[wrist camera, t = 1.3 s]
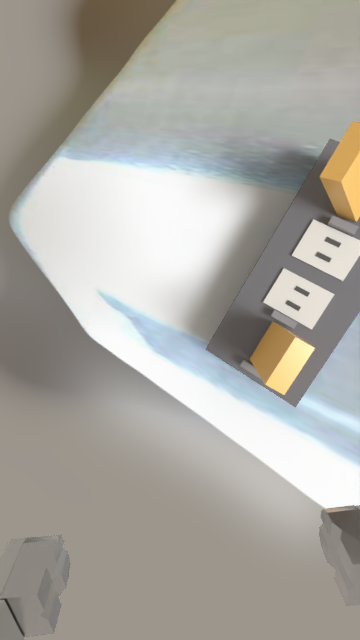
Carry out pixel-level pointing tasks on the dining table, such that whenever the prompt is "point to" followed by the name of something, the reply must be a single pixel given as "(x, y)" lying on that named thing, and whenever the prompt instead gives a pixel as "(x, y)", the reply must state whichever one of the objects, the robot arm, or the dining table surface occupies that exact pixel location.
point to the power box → (298, 285)
